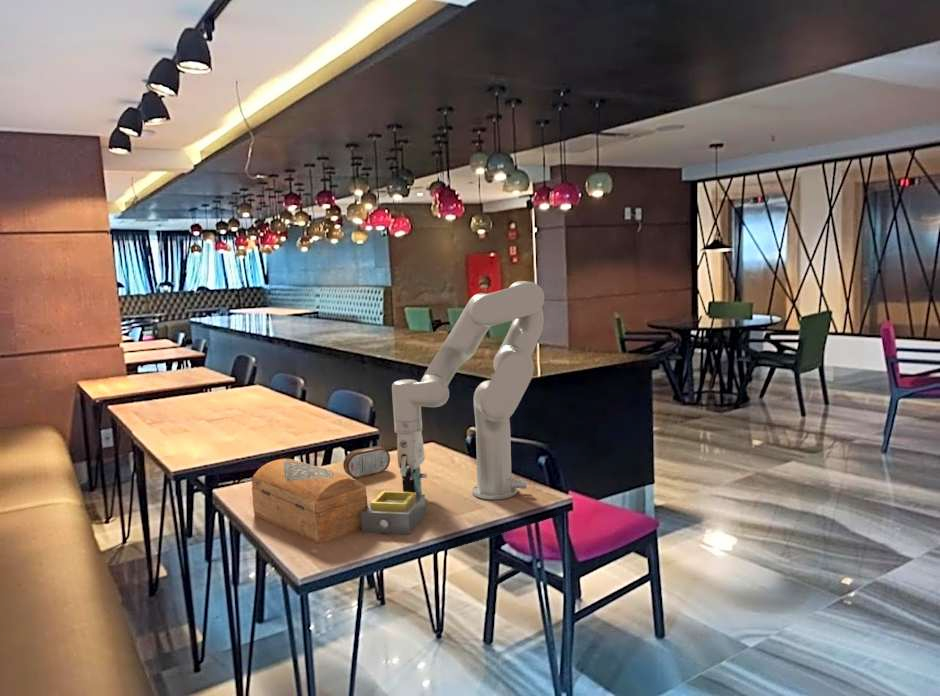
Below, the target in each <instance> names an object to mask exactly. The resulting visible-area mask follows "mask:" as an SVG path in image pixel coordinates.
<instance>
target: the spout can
mask: <svg viewBox="0 0 940 696" xmlns="http://www.w3.org/2000/svg"><path fill="white" fill-rule="evenodd" d="M407 468H410V467H409V466H407ZM407 472H409V474H410V470H407ZM427 478H428V474H427V473H424V472H423V473H421V467H420V468H419V467H418V468H416V469H413V479H414V483H415V492H416V494H417V495H423V494H422V493H423V492H422V481H421V480H422V479H427Z"/></svg>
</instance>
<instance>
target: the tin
mask: <svg viewBox="0 0 940 696" xmlns="http://www.w3.org/2000/svg"><path fill="white" fill-rule="evenodd" d="M390 462H391V456H390V453H389V451H387V449H386V448H384V447H382V446H380V445H376V446H371V447H365V448H358V449H354V450H352V451H350V452H349V453H347V455H346V456H345V457H344V460H343V470H344V473H345V474H346V475H347V476H349V477H351V478H354V479H359V478H363V477H368V476H372V475H378V474H379V475H380V474H381V473H383V472H385V471H386V470H387V469H388V467H389V465H390Z"/></svg>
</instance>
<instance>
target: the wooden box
mask: <svg viewBox="0 0 940 696" xmlns="http://www.w3.org/2000/svg"><path fill="white" fill-rule="evenodd" d="M251 486H252V487H251V491H252V492H251V493H252V507H253V509H252V510H253V515H254V516H256V517H257V518H259V519H262V520H264V521H266V522H269V523H271V524H273V525H276V526H277V527H280V528H283V530H284V529H285V530H286V531H289V532H291V533H294V534H295V535H299V536H300V537H303V538H305V539H308V540H310V541H311V542H314V543H317V544H322V543H325V542H328V541H330V540H334V539H337V538H339V537H341V536H344V535H346V534H349V533H351V532H354V531H357V530H360V529H362V521H361V512H362V511H363V510H364V509H365V508H366V507H367V506H368V505H369V504H368V496H367V487H366V485H365V484H363V483H361V482H360V481H359V480H356V478H354V477H352V476H350V475H345V474H341V473H338V472H335V471H332V470H330V469H327V468H325V467H320V466H317V465H313V464H309V463H306V462H303V461H299V460H296V459H292V458H280V459H275V460H272V461H270V462H267V463H265V464H264V465H262V466H261V467H260V468H258V470H257V471H256V472H255V473H254V474H253V476H252V478H251Z"/></svg>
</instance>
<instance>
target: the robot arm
mask: <svg viewBox="0 0 940 696" xmlns="http://www.w3.org/2000/svg"><path fill="white" fill-rule="evenodd" d="M544 303H545V294H544V290H543V289H542V287H541V286H540V285H539V284H537V283H535V282H533V281H526V280H520V281H519V280H518V281H515V282H513V283H512V284H511V285H509V287H507V288H504V289H501V290H498V291H493V292H489V293H485V292H483V293H477V294H474V295H473V296H472V297H471V298H470V299H469V300H468V302H467V303H466V305H465V307H464V308H463V310H462V312H461V314H460V316H459V317H458V319H457V320H456V322H455V324H454V325H453V327H452V329H451V330H450V332H449V334H448V336H447V337H446V339H445V341H444V342H443V344H442V345H441V347H440V348H439V350H438V351H437V353H436V354H435V355H434V358H433V359H432V361H431V362H430V364H429V366H428V367H427V369H426V370H425V372H424V374H423V376H422V378H421V380H420V381H418V380H415V379H410V378H409V379H400V380H399V379H398V380H396V381H394V382H393V383H392V384H391V394H392V395H391V396H392V397H391V398H392V399H391V400H392V411H393V426H394V433H396V437H397V438H396V446H397V447H396V449H397V453H396V455H397V456H396V457H397V465H398V468H399V469H400V472H399V473H400V475H401V480H402V492H415V483H414V479H413V469H416V468H418V467H419V468H420V469H421V464H422V463H423V462H424V461H425V458H426V457H425V448H424V440H423V434H422V431H423V420H422V407H423V408H424V407H425V408H438V407H443V406H444V405H445V404H446V403H447V402H448V399H449V398H450V389H449V384H450V383H451V381H452V379H453V378H454V376H455V374H456V373H457V371H458V370H459V368H460V367H462V365H463V364H464V363H465V362H467V361H469V360H470V359H471V358H472V357H473V356H474V354H475V353H476V351H477V350H478V348H479V346H480V344H481V343H482V341H483V339H484V338H485V336H486V334H487V333H488V331H489V330H490V328H491V327H494V326H498V325H502V324H505V323H509V322H511V324H510V327H509V329H508V332H507V334H506V335H505V338H504V339H503V341H502V344H501V345H500V347H499V349H498V350H497V353H495V356H494V358H493V362H492V365H493V369H494V373H493V375H492V378H491V379H487V380H484V381H482V382H481V383H479V385H477V387H476V388H475V391H474V392H473V412H474V420H475V422H474V423H475V444H476V445H475V447H476V449H475V450H476V473H477V474H476V475H477V479H476V480H477V481H476V482H477V484H476V485H474V486H473V487H472V489H471V491H472V495H473V496H475V497H477V498H480V499H483V500H503V499H508V498H512V497H514V496H515V495H517V493H518V489H525V490H526V489H528V481H525V480H524V479H516V478H515V474H513V473H512V456H511V455H512V453H511V451H512V450H511V449H512V447H511V421H510V418H511V417H512V415H514V413H515V411H516V409H517V408H518V406H519V404H520V402H521V401H522V398H523V396H524V394H525V392H526V391H527V389H528V387H529V385H530V383H531V380H532V379H533V374H534V370H535V366H534V361H533V358H532V355H533V353H534V350H535V349H536V347H537V344H538V343H539V340H540V338H541V335H542V332H543V328H544V322H545V321H544V310H543V305H544ZM407 467H410V468H407ZM407 470H410V474H409V472H407Z"/></svg>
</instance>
